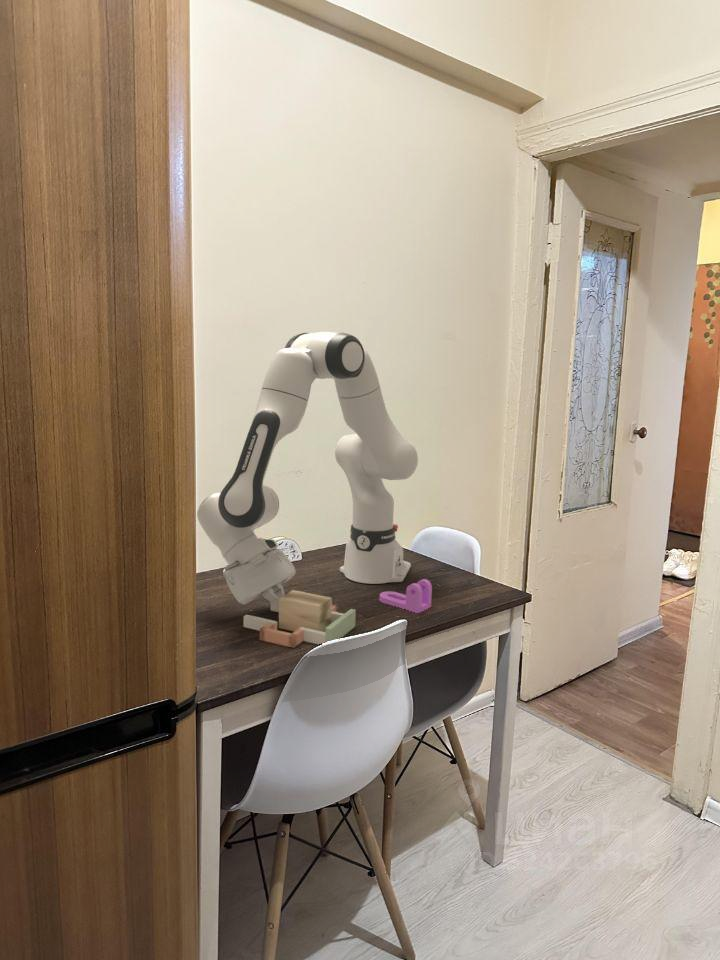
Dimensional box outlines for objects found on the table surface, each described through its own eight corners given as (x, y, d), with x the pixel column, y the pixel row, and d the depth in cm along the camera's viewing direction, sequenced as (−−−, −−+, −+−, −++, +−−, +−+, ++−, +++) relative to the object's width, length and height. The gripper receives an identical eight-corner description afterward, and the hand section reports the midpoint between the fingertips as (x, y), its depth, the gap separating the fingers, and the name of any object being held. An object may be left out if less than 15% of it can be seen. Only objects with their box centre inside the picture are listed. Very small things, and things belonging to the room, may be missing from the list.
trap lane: (281, 603, 166) (282, 587, 165) (362, 620, 157) (363, 604, 156) (232, 633, 148) (232, 615, 147) (320, 654, 139) (321, 636, 138)
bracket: (430, 608, 167) (432, 581, 165) (418, 614, 162) (419, 586, 161) (388, 594, 175) (389, 569, 173) (374, 600, 170) (376, 574, 169)
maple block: (292, 618, 157) (292, 589, 155) (331, 627, 152) (331, 597, 151) (278, 628, 151) (279, 598, 150) (318, 637, 147) (319, 606, 146)
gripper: (228, 560, 145) (266, 612, 143) (278, 538, 163) (313, 584, 161) (211, 576, 147) (248, 628, 145) (262, 553, 166) (297, 598, 164)
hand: (283, 604), depth 153 cm, fingers closed, pressing on maple block
